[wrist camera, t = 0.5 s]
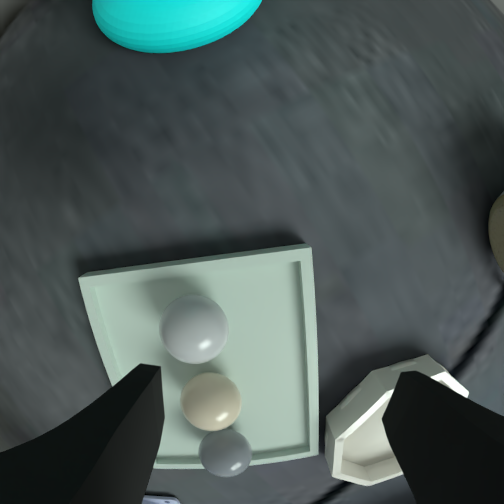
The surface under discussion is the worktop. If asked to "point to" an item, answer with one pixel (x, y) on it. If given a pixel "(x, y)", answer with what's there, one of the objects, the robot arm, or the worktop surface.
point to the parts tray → (235, 351)
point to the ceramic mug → (497, 230)
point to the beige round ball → (210, 401)
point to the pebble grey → (193, 329)
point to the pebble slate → (225, 453)
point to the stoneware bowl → (372, 423)
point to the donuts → (170, 22)
